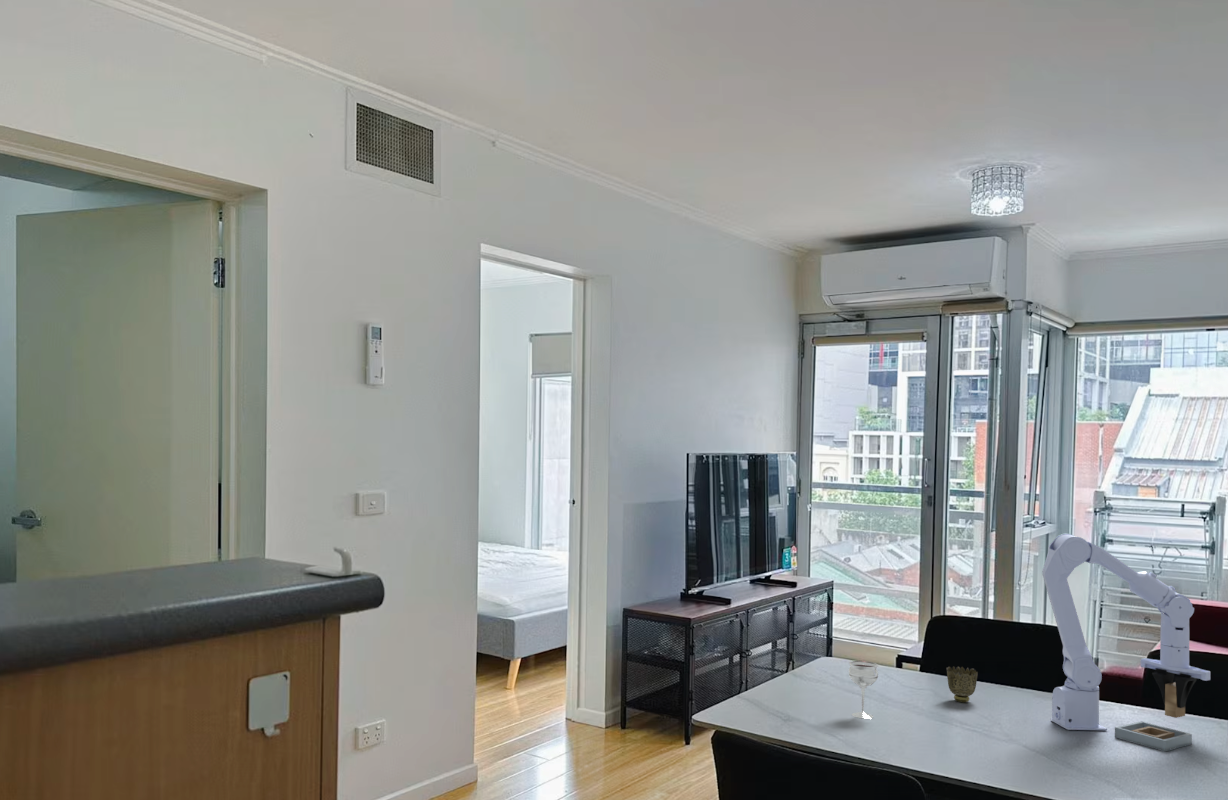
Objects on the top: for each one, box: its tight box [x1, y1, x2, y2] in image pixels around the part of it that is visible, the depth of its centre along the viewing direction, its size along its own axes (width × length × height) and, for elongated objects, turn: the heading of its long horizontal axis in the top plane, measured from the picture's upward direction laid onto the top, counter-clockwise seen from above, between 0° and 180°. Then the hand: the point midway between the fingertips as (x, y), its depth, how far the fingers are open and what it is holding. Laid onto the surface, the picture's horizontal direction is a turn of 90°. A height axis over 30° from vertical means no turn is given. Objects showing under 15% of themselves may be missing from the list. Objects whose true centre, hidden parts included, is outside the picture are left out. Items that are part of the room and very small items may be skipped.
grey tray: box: [1114, 720, 1193, 752], centre depth 211 cm, size 11×11×2 cm
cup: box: [945, 666, 979, 704], centre depth 240 cm, size 8×7×8 cm
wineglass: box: [848, 660, 879, 719], centre depth 224 cm, size 7×7×12 cm
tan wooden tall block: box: [1164, 681, 1186, 719], centre depth 217 cm, size 2×4×7 cm, turn 122°
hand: (1174, 705), depth 217 cm, fingers closed on tan wooden tall block, 2 cm apart
